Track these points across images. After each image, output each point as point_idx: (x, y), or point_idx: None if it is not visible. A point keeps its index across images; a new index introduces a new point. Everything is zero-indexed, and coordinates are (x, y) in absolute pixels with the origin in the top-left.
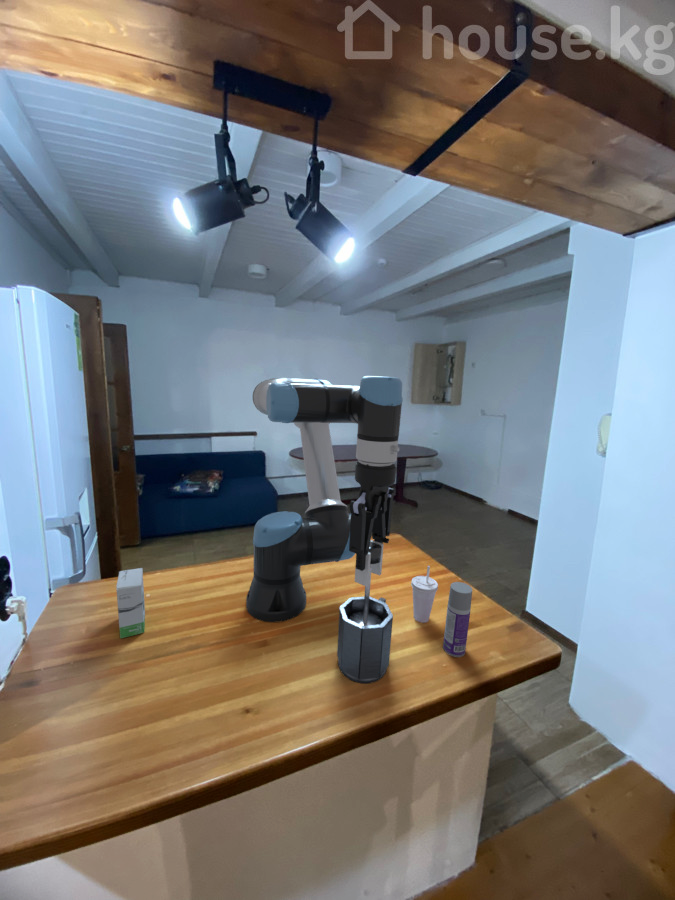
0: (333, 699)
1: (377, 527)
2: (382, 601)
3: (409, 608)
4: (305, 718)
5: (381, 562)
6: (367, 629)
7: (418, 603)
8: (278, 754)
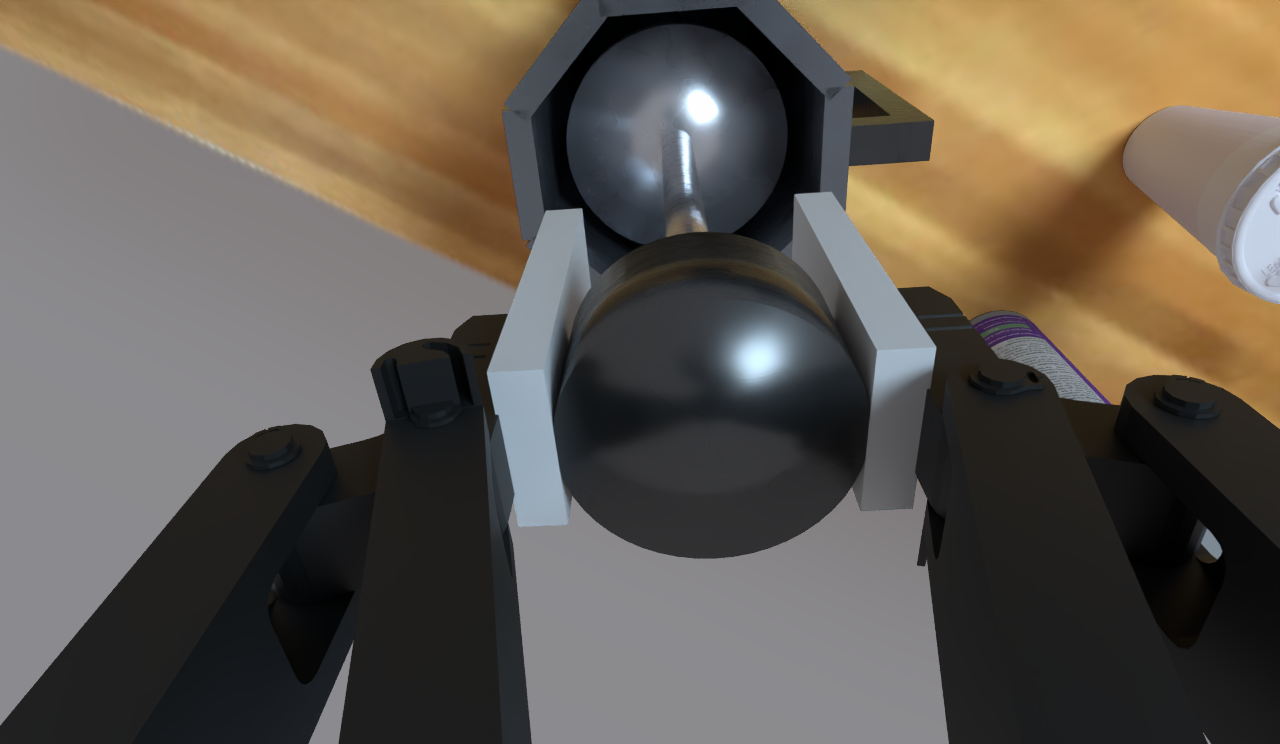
0: (431, 111)
1: (958, 633)
2: (889, 157)
3: (1236, 51)
4: (288, 81)
5: None
6: None
7: (1180, 181)
8: (133, 106)
